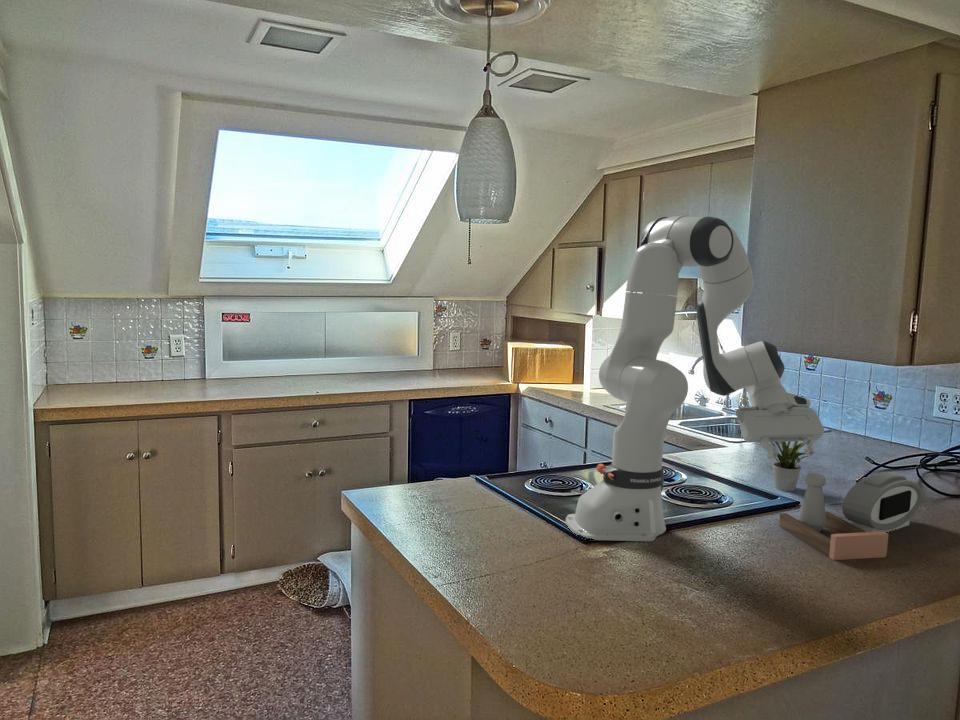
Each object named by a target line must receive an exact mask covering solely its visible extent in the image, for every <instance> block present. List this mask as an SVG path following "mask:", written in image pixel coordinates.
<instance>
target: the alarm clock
mask: <svg viewBox="0 0 960 720" xmlns="http://www.w3.org/2000/svg"><path fill="white" fill-rule="evenodd" d="M922 500H923V490H922V488H921V486H920V485H919V484H918V483H917V482H915V481H911V480H907V478H906V476H902V475H897V474H895V473H890V472H879V473H878V472H877V473H874V474H872V475H869V476H867V477H865V478H862V479H861V480H860V481H858V482H856V483H855V484H854V485H853V486H852V487H851V488H850V489H849V490H848V492H847V493H846V494H845V496H844V498H843V501H842V505H841V507H842V508H841V509H842V511H841V512H842V514H843V516H844V518H846V519H847V520H848V521H850V522H851V524H852V525H854V526H856V527H858V528H860V529H862V530H864V531H866V532H882V531H884V532H888V533H890V532H889V531H891V532H893V531H896V530H900V529H902V528H904V527H907V526H909V525H910V519H912V518H913V517H914V516H915V514H916V513H917V511H919V508H920V506H921V504H922V502H923V501H922ZM895 529H896V530H895ZM892 530H893V531H892Z"/></svg>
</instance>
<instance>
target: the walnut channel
mask: <svg viewBox="0 0 960 720" xmlns="http://www.w3.org/2000/svg"><path fill="white" fill-rule="evenodd" d="M825 516H826V524H825V525H824V527H825V528H826V529H828V530H830V531H832V532H834V534H844V533H863V532H866V531H864V530H862V529H860V528H858V527H856V526H854V525H852V522H851V523H850V522H848V521H847V520H845V519H843V518H841V517H839V516H837V515H836V514H834V513H832V512H829V511H826V510H825ZM778 525H779V527H780V528H782V529H783V530H784V531H786V532H788V533H789V534H791V535H793V536H794V537H796V538H798V539H799V540H801V541H802V542H804V543H805V544H807V545H808V546H810V547H811V548H813V549H815V550H817V551H818V552H820V553H822V554H823V555H825V556H826V557H828V558H829V552H830V541H831V538H829V536H826V535H825V534H822V533H821V532H818V531H816V530H814V529H812V528H811V527H809V526H807V525H806V524H804V523H802V522H800V521H799V520H798V518H795V517H794V516H792V515H791V514H788V513H787V512H786V513H785V512H784V513H783V512H782V513H780V514H779V523H778Z"/></svg>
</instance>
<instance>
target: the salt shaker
mask: <svg viewBox="0 0 960 720" xmlns="http://www.w3.org/2000/svg"><path fill="white" fill-rule="evenodd" d="M804 483H805V484H806V485H807V486H806V490H805V493H804V496H803V500H802V503H801V507H800V510H799V513H798V516H797V520H799V521H800V522H802V523H804V524H806V525H807V526H809V527H811V528H812V529H814V530H816V531H818V532H819V533H821V532H822V530H823V529H824V527H825V526H824V525H825V524H826V516H825V511H826V510H825V509H826V508H825V499H824V489H823V487H825V485H826V483H827V479H826V476H824V475H823V474H820V473H817V472H816V473H815V472H809V473H807V474H806V475H805V476H804Z"/></svg>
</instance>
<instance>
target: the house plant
mask: <svg viewBox="0 0 960 720" xmlns="http://www.w3.org/2000/svg"><path fill="white" fill-rule="evenodd" d="M791 442H792V441H783V442H781V446H780V444H779V442H770V444H771V446H772V447H776V446H777V449H778V450H779V451H780V452H778V455H777V458H776V457H773V458H775V460H776V461H777V462H773V463H772V472H773V484H774V488H775V489H776V490H778V491H779V490H780V491H783V492H785V491H786V492H793V491H796V487H797V484H798V480H799V476H800V473H801V468H802V467H801V466H800V462H801V460H802V459H804V458H809V456H806V455H805V453H804V452H799V451H800V449H802V448H803V447H804V446H805V445H806V444H804V442H803V441H802V442H800V443H799V441H794V444H793V446H792V447H790V445H791ZM774 443H775V444H774ZM765 452H767V453H768V451H766V450H765ZM803 455H804V456H803ZM800 456H802V457H800ZM770 458H772V457H770V456H769V455H768V459H770Z"/></svg>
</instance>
